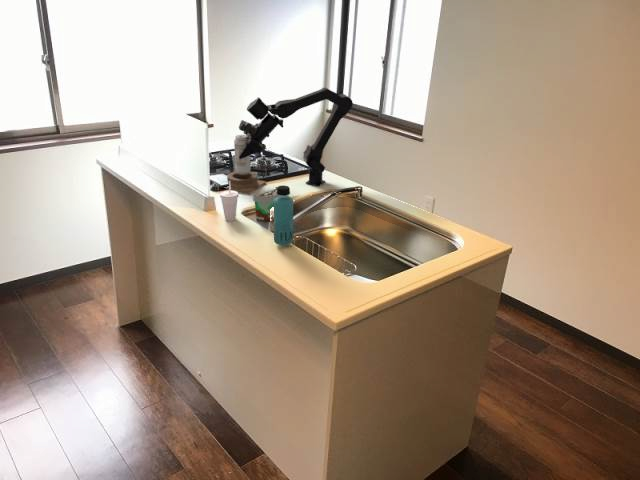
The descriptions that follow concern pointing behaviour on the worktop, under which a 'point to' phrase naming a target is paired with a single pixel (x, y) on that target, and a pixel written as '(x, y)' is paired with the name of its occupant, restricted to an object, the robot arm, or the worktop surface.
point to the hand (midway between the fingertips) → (238, 155)
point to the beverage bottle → (283, 217)
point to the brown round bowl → (244, 182)
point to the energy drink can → (240, 164)
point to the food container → (264, 205)
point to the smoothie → (229, 203)
